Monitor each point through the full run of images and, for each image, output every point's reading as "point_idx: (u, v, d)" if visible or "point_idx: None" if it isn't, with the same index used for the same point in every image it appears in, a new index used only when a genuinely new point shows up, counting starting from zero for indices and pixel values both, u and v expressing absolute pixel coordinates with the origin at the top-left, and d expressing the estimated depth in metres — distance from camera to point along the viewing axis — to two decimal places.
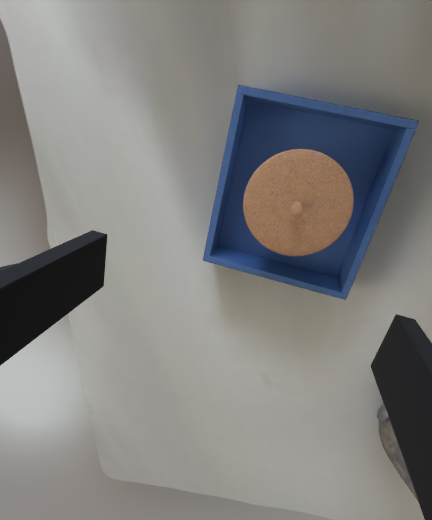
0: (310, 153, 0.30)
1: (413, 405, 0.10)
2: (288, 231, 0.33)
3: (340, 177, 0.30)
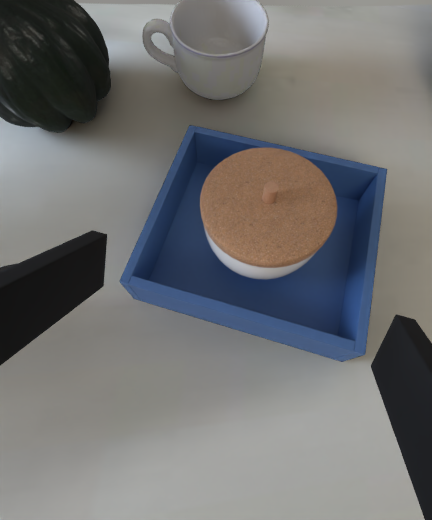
0: (206, 185, 0.26)
1: (413, 405, 0.10)
2: (303, 206, 0.25)
3: (235, 158, 0.27)
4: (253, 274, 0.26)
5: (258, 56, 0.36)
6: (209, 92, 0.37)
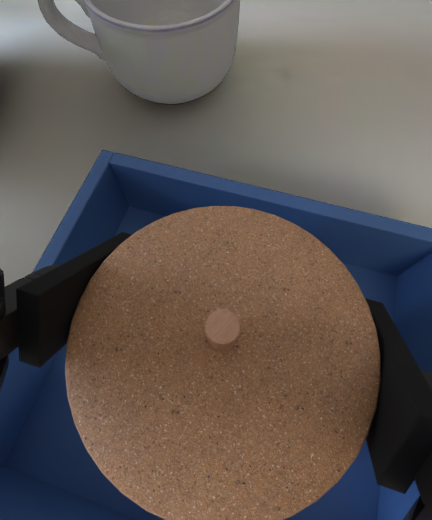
0: (86, 299, 0.11)
1: None
2: (302, 359, 0.10)
3: (157, 231, 0.12)
4: None
5: (228, 32, 0.22)
6: (152, 92, 0.23)
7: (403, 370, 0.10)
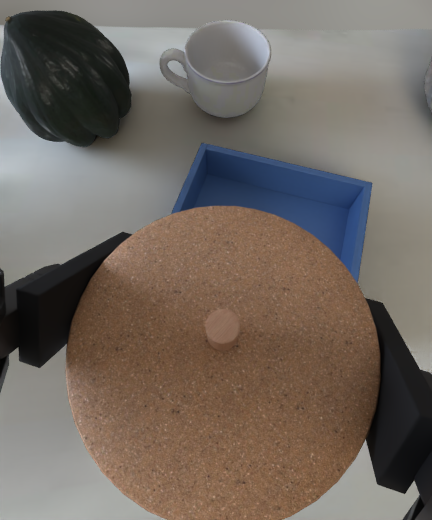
0: (86, 299, 0.12)
1: None
2: (302, 358, 0.10)
3: (157, 231, 0.13)
4: None
5: (261, 81, 0.40)
6: (218, 111, 0.42)
7: (403, 370, 0.10)
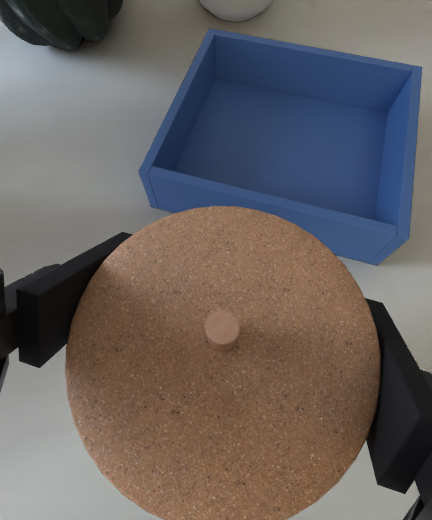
0: (86, 299, 0.11)
1: None
2: (302, 359, 0.10)
3: (157, 231, 0.12)
4: None
5: None
6: (227, 6, 0.35)
7: (403, 370, 0.10)
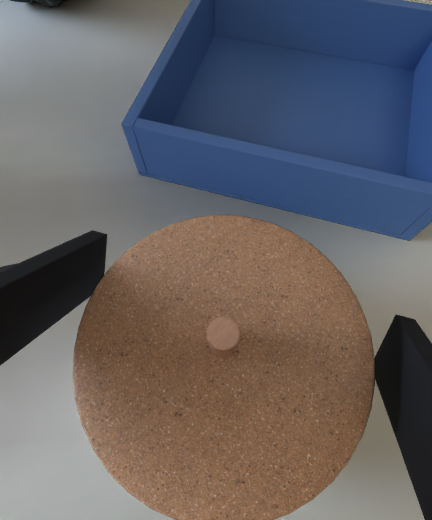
0: (92, 305, 0.12)
1: (413, 406, 0.10)
2: (299, 363, 0.11)
3: (160, 240, 0.13)
4: None
5: None
6: None
7: None
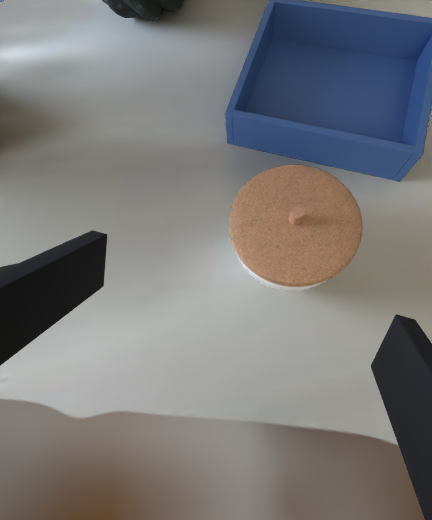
0: (235, 206, 0.27)
1: (413, 406, 0.10)
2: (328, 227, 0.26)
3: (263, 177, 0.28)
4: (279, 289, 0.28)
5: None
6: None
7: None
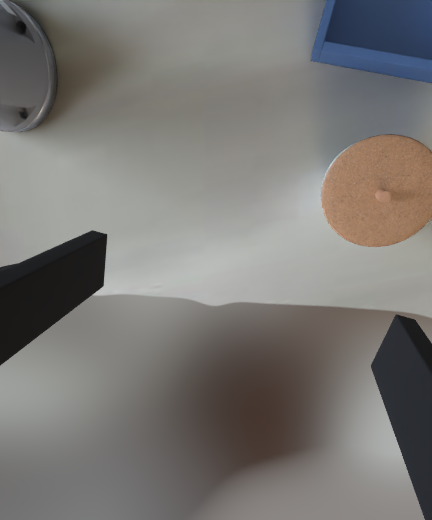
0: (327, 183, 0.32)
1: (413, 406, 0.10)
2: (410, 201, 0.30)
3: (354, 152, 0.30)
4: None
5: None
6: None
7: None
